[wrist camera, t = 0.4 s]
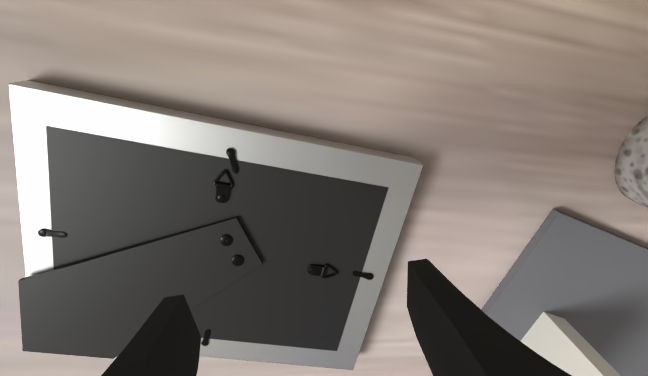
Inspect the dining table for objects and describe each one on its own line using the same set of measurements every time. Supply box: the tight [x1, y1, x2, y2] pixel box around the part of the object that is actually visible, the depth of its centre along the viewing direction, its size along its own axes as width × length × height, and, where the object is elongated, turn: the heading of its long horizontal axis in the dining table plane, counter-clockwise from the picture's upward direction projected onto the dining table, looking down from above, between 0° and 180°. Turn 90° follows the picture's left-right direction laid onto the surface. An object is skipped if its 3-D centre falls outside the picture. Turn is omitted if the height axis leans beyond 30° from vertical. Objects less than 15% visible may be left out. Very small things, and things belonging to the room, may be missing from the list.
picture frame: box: [9, 80, 423, 370], centre depth 22 cm, size 16×3×21 cm
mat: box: [482, 209, 648, 376], centre depth 29 cm, size 22×18×1 cm
